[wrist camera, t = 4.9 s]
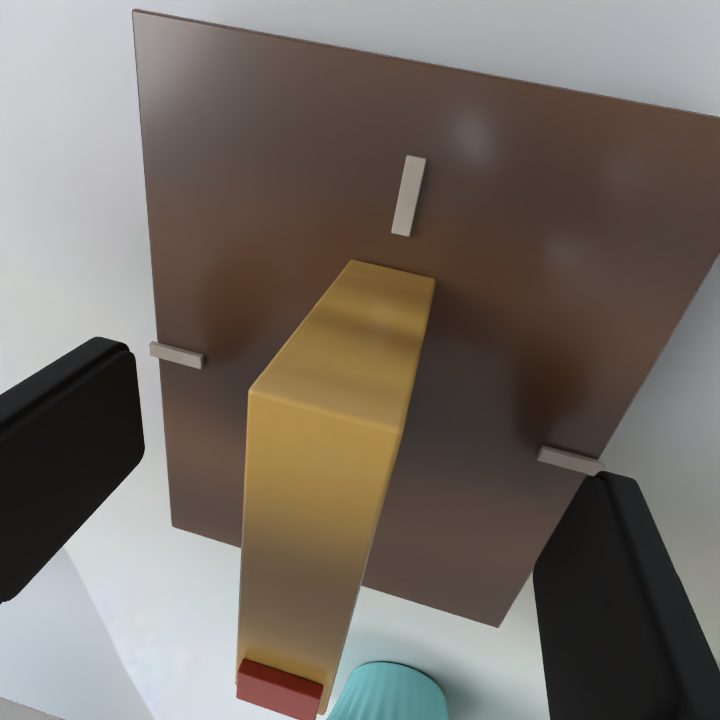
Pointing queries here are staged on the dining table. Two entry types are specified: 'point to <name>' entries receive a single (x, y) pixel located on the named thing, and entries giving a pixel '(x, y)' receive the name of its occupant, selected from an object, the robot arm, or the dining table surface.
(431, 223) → the plate
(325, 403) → the tap handle
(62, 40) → the dining table surface
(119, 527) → the dining table surface
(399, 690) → the cupcake
